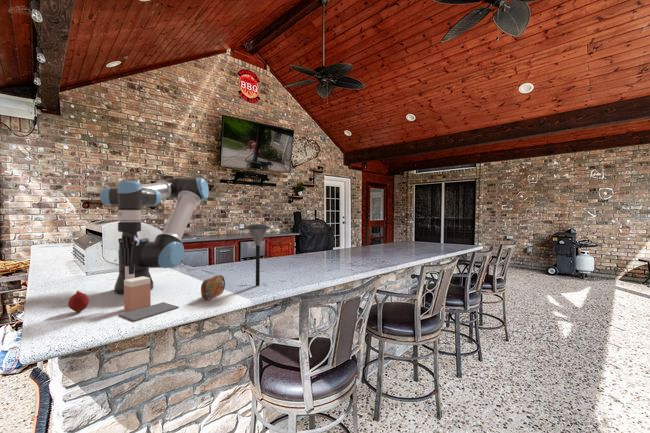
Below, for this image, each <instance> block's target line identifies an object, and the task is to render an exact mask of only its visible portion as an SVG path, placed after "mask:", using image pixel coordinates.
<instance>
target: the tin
mask: <svg viewBox="0 0 650 433" xmlns="http://www.w3.org/2000/svg"><path fill="white" fill-rule="evenodd" d="M225 286H226V280H225V278H224V276H223V275H221V274H218V275H214V276H211V277H208V278H207V279H204V280H203V282H202V284H201V286H200V294H201V298H203V300H204V299H205V300H213V299H215V298H216V297H217V296H220V295H221V294H223V292H224V290H225ZM212 298H213V299H212Z"/></svg>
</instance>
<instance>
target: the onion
mask: <svg viewBox="0 0 650 433" xmlns="http://www.w3.org/2000/svg"><path fill="white" fill-rule="evenodd" d="M89 304H90V299H89V296H88V295H87V294H85V293H84V292H81V291H80V290H76V292H75V293H74V294H73V295H72V296H71V297H70V298H69V300H68V307H69V309H70V310H72V311H74V312H75V313H77V314H78V313H81V312H82V311H84V310H86V309H87V308H88V306H89Z"/></svg>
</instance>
